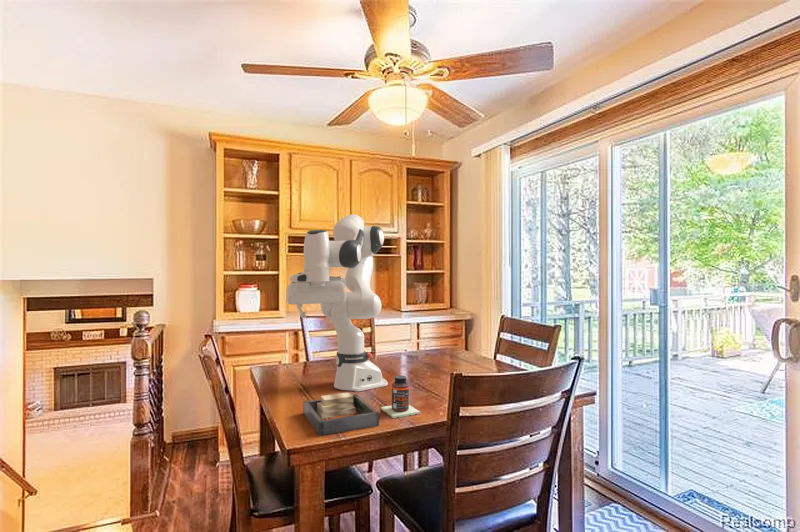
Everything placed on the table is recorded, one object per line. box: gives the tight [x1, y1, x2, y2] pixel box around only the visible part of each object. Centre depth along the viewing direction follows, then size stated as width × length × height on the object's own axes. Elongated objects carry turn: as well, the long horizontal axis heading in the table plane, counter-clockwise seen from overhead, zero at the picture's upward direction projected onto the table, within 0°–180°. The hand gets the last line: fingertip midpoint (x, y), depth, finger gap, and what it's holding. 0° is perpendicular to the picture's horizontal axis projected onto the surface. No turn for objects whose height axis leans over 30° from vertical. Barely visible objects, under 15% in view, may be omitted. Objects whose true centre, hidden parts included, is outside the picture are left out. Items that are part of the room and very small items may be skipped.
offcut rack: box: [302, 394, 380, 437], centre depth 140 cm, size 19×21×4 cm
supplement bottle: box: [391, 375, 410, 412], centre depth 147 cm, size 6×6×11 cm
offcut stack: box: [316, 391, 357, 420], centre depth 145 cm, size 12×6×6 cm, turn 117°
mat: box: [380, 404, 421, 419], centre depth 147 cm, size 10×10×1 cm
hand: (316, 316), depth 147 cm, fingers open, 8 cm apart
